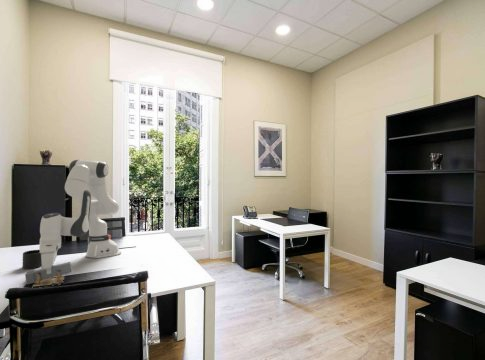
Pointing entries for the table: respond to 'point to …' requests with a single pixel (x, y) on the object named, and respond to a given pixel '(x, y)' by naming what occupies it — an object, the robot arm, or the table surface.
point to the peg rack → (48, 280)
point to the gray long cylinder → (32, 275)
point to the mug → (32, 259)
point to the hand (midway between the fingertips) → (49, 272)
